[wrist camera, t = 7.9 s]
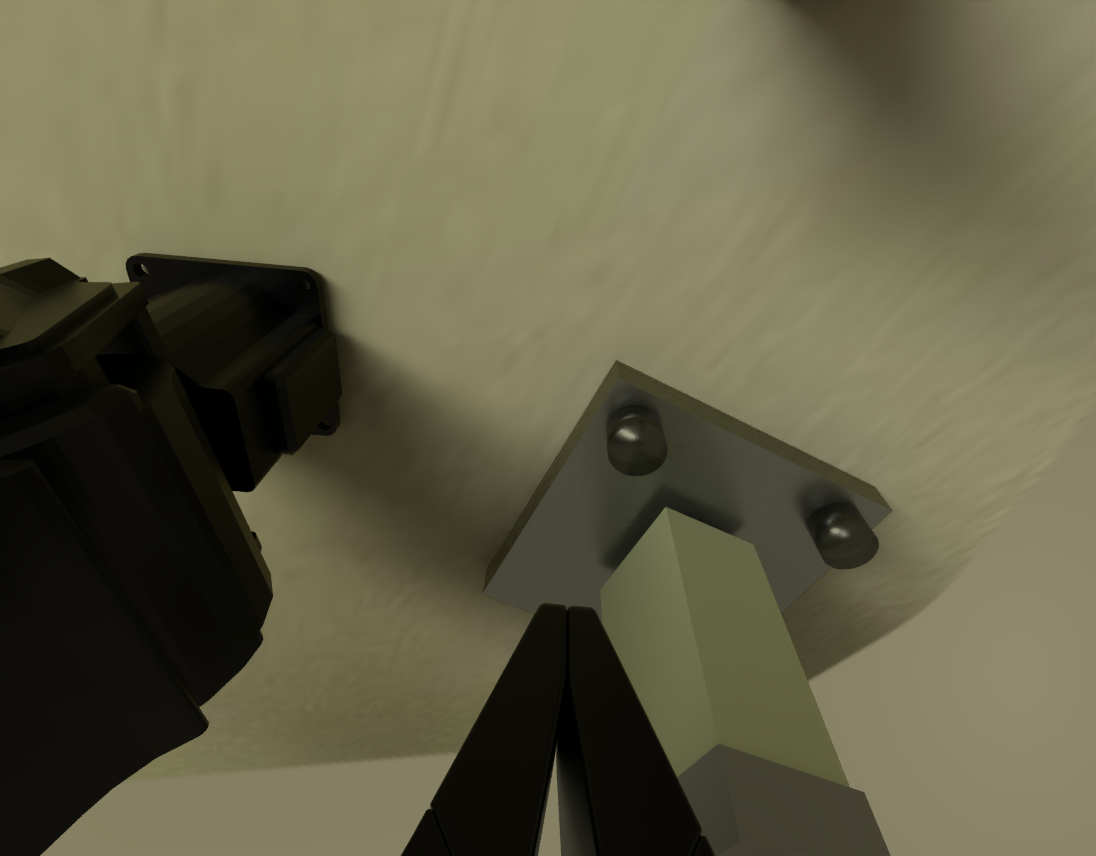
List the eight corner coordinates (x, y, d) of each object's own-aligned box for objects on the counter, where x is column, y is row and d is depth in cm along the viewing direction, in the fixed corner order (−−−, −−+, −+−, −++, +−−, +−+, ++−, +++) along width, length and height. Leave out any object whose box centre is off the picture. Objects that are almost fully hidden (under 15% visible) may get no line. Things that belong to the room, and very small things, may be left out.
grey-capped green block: (593, 591, 24) (612, 1005, 13) (664, 501, 21) (759, 928, 10) (683, 624, 24) (768, 1038, 14) (761, 542, 22) (939, 974, 11)
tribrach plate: (486, 569, 26) (476, 621, 24) (616, 360, 21) (621, 398, 18) (703, 653, 29) (716, 709, 26) (874, 486, 23) (912, 537, 20)
